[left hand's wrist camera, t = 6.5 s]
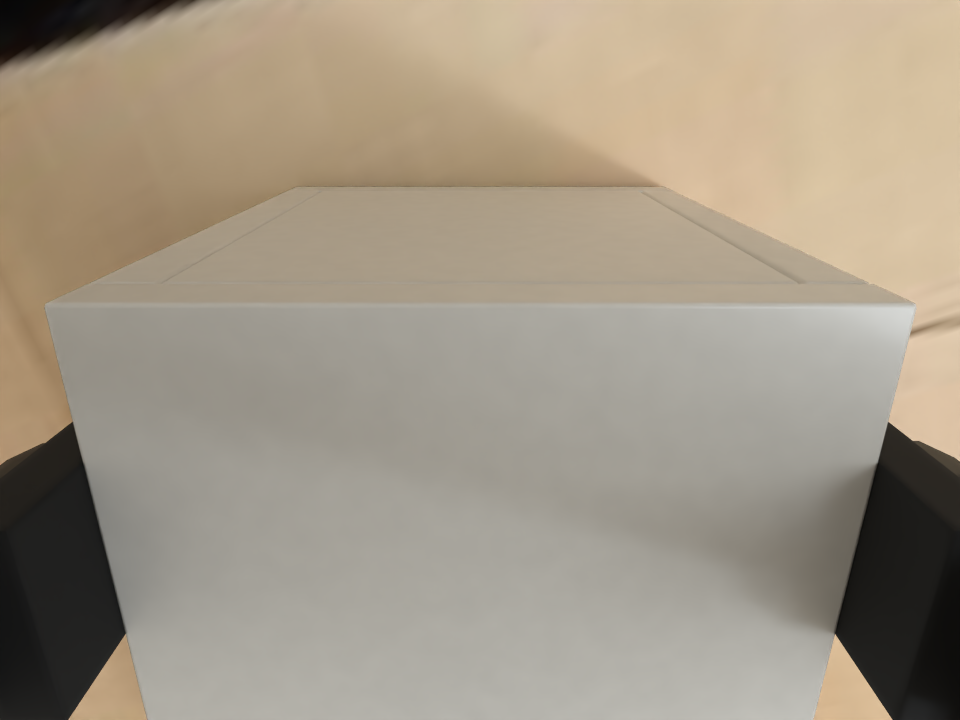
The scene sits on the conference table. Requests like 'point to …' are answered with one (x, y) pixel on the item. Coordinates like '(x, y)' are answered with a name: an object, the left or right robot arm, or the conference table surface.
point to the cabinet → (480, 456)
